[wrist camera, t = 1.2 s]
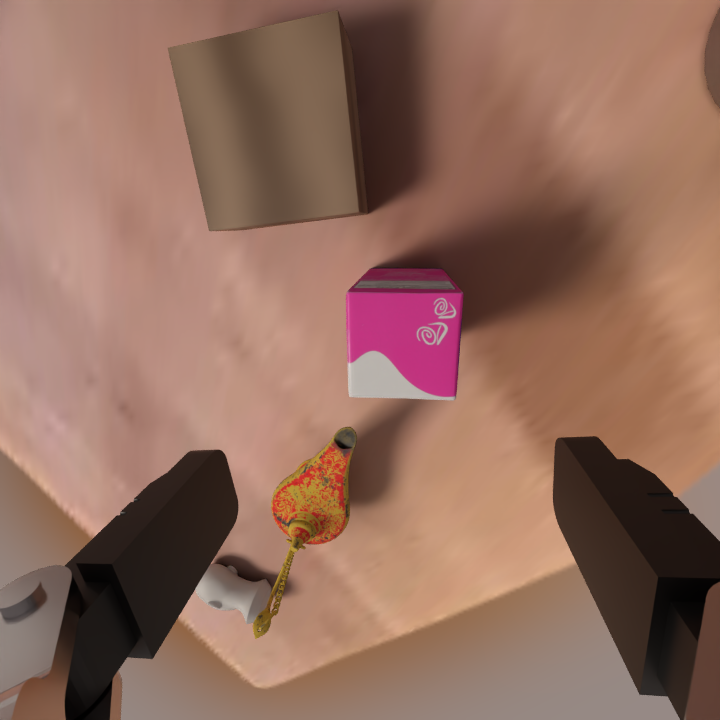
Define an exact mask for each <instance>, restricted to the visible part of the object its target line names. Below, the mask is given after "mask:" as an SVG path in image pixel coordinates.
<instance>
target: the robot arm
mask: <svg viewBox="0 0 720 720" xmlns="http://www.w3.org/2000/svg"><path fill="white" fill-rule="evenodd" d="M705 76H706V81H707V86H708V89H709V91H710V93H711V95H712V97H713V100H714V102H715V103H716V104H717V105H718V107H719V108H720V8H719V10H718V12H717V14H716V17H715V19H714V22H713V24H712V27H711V29H710V32H709V36H708V41H707V45H706V49H705ZM553 504H554V511H555V515H556V519H557V522H558V525H559V527H560V529H561V531H562V533H563V536H564V538H565V540H566V542H567V544H568V546H569V548H570V550H571V552H572V554H573V556H574V559H575V561H576V563H577V565H578V567H579V569H580V571H581V573H582V575H583V577H584V579H585V581H586V584H587V586H588V588H589V590H590V592H591V594H592V596H593V598H594V600H595V602H596V604H597V607H598V609H599V611H600V613H601V615H602V617H603V619H604V621H605V623H606V625H607V627H608V629H609V632H610V634H611V635H612V638H613V640H614V642H615V644H616V646H617V648H618V650H619V652H620V654H621V656H622V659H623V661H624V663H625V665H626V667H627V669H628V671H629V673H630V675H631V678H632V679H633V682H634V684H635V686H636V688H637V690H638V692H639V694H640V695H654V696H668V698H669V700H670V701H671V703H672V705H673V707H674V709H675V711H676V713H677V714H678V716H679V718H680V720H720V541H719V540H718V539H717V538H716V537H715V536H714V535H713V534H712V533H711V532H710V531H709V530H708V529H707V528H706V527H705V526H704V525H703V524H702V523H701V522H700V521H699V520H698V519H697V518H696V516H695V515H694V514H690V513H689V509H688V508H687V507H686V506H685V505H684V504H683V503H682V502H681V501H680V500H679V499H678V498H677V497H674V496H673V493H672V492H671V491H670V490H669V489H668V487H667V486H666V485H665V484H664V483H663V482H662V481H661V480H660V479H659V478H658V477H657V476H656V475H655V474H653V473H652V472H650V471H648V470H647V469H645V468H643V467H641V466H640V465H638V464H636V463H634V462H633V461H631V460H629V459H617V458H616V457H615V456H614V455H613V454H612V453H611V451H610V450H609V449H608V448H607V447H606V446H605V445H604V443H603V442H602V441H601V440H600V439H599V438H598V437H595V436H592V437H565V438H558V439H557V440H556V443H555V455H554V481H553ZM237 515H238V499H237V495H236V491H235V488H234V484H233V480H232V477H231V473H230V469H229V466H228V462H227V459H226V456H225V454H224V453H223V452H222V451H221V450H197V451H190V452H188V453H187V454H186V455H185V456H184V457H183V458H182V459H181V460H180V461H179V462H178V463H177V464H176V465H175V466H174V467H173V468H172V469H171V470H170V471H169V472H168V473H166V474H164V475H163V476H161V477H160V478H158V479H157V480H155V481H153V482H152V483H150V484H149V485H148V486H147V487H146V488H145V489H144V490H143V491H142V492H141V493H140V494H139V495H138V496H137V497H136V498H134V502H130V503H129V504H128V505H127V506H126V507H125V508H124V509H123V510H122V511H121V512H120V515H117V516H116V517H115V518H114V519H113V520H112V521H111V522H110V523H109V524H108V525H107V526H105V527H104V528H103V529H102V530H101V531H100V532H99V533H98V534H97V535H96V536H95V537H94V538H93V539H92V540H91V541H90V542H89V543H88V544H87V545H86V546H85V547H84V548H83V549H82V550H81V551H80V552H79V553H78V554H76V555H75V556H74V557H73V558H72V559H71V560H70V561H69V562H68V563H67V564H66V565H65V566H61V565H56V566H49V567H45V568H41V569H38V570H35V571H32V572H30V573H28V574H26V575H23V576H22V577H20V578H18V579H16V580H14V581H12V582H11V583H9V584H7V585H6V586H5V587H3V588H2V589H0V720H121V719H120V718H121V700H122V678H121V675H120V673H119V671H118V670H119V668H120V667H121V666H122V664H123V663H124V661H125V660H126V658H127V657H131V658H147V659H153V658H154V656H155V654H156V653H157V651H158V649H159V647H160V646H161V644H162V643H163V641H164V639H165V638H166V636H167V635H168V633H169V631H170V629H171V628H172V626H173V625H174V623H175V621H176V620H177V618H178V617H179V615H180V613H181V612H182V610H183V608H184V607H185V605H186V603H187V602H188V600H189V598H190V597H191V595H192V594H193V592H194V590H195V589H196V587H197V585H198V584H199V582H200V580H201V579H202V577H203V575H204V574H205V572H206V571H207V569H208V567H209V566H210V564H211V562H212V561H213V559H214V557H215V556H216V554H217V552H218V551H219V549H220V548H221V546H222V544H223V543H224V541H225V539H226V538H227V536H228V534H229V533H230V531H231V529H232V528H233V526H234V524H235V522H236V519H237Z"/></svg>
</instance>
